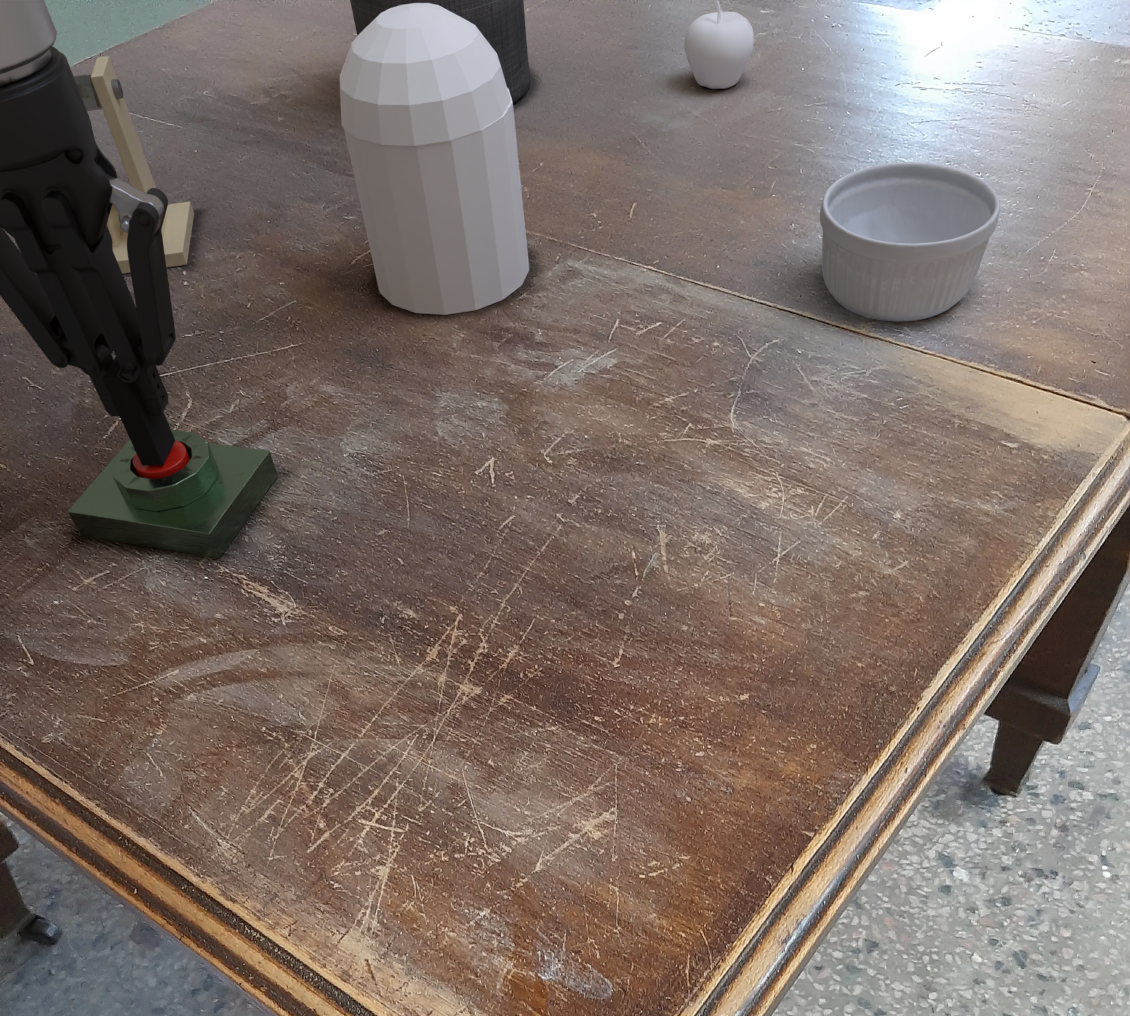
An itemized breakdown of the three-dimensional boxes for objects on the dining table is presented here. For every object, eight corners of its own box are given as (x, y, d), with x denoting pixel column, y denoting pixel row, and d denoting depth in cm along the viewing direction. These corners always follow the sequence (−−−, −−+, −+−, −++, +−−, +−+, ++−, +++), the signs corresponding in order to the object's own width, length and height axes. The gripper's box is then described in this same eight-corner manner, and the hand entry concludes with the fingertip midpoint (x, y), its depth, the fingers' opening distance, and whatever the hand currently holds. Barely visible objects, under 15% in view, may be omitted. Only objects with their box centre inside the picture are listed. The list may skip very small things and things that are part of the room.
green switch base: (80, 536, 75) (55, 489, 72) (146, 457, 80) (125, 411, 77) (219, 558, 73) (199, 511, 70) (278, 476, 78) (262, 428, 75)
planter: (337, 97, 119) (300, -77, 107) (462, 46, 126) (440, -123, 114) (436, 141, 111) (407, -43, 98) (564, 83, 117) (553, -96, 105)
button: (132, 489, 74) (122, 468, 73) (158, 457, 76) (149, 436, 75) (178, 496, 73) (169, 475, 72) (203, 463, 75) (195, 442, 74)
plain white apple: (682, 71, 117) (684, -15, 111) (749, 67, 116) (754, -20, 110) (684, 98, 113) (686, 10, 106) (753, 94, 112) (759, 5, 106)
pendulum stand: (187, 264, 98) (123, 85, 87) (87, 278, 98) (10, 100, 86) (194, 213, 104) (136, 40, 93) (101, 226, 104) (30, 54, 92)
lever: (57, 108, 78) (39, 49, 76) (7, 114, 78) (-12, 56, 76) (117, 115, 93) (103, 66, 91) (75, 121, 93) (60, 71, 91)
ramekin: (891, 352, 82) (908, 263, 76) (777, 283, 89) (785, 197, 84) (1015, 291, 86) (1039, 203, 80) (896, 230, 93) (911, 145, 88)
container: (485, 326, 88) (446, 51, 72) (346, 300, 92) (282, 34, 77) (554, 247, 95) (533, -20, 80) (423, 226, 100) (379, -31, 84)
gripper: (-170, 99, 53) (47, 488, 71) (82, 86, 51) (236, 487, 70) (-100, 40, 57) (87, 420, 76) (134, 27, 56) (265, 418, 75)
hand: (158, 452), depth 73 cm, fingers closed
